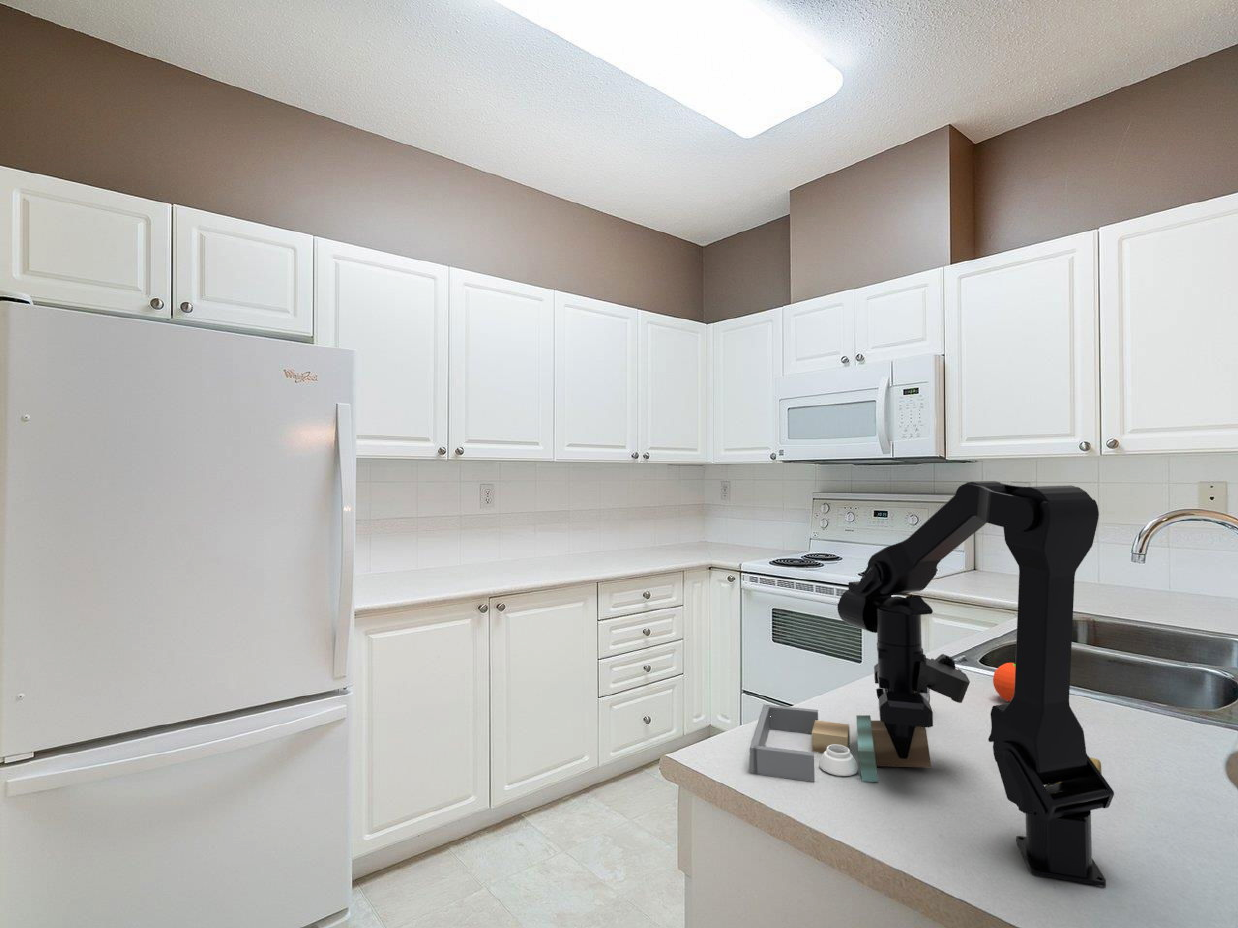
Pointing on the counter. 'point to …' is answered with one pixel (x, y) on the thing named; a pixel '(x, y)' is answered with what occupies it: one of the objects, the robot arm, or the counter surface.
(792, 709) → the grey u-shaped bracket
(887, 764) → the brown and teal block
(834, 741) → the light wooden cube
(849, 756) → the white jar
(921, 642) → the robot arm
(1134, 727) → the counter surface
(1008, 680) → the clementine
